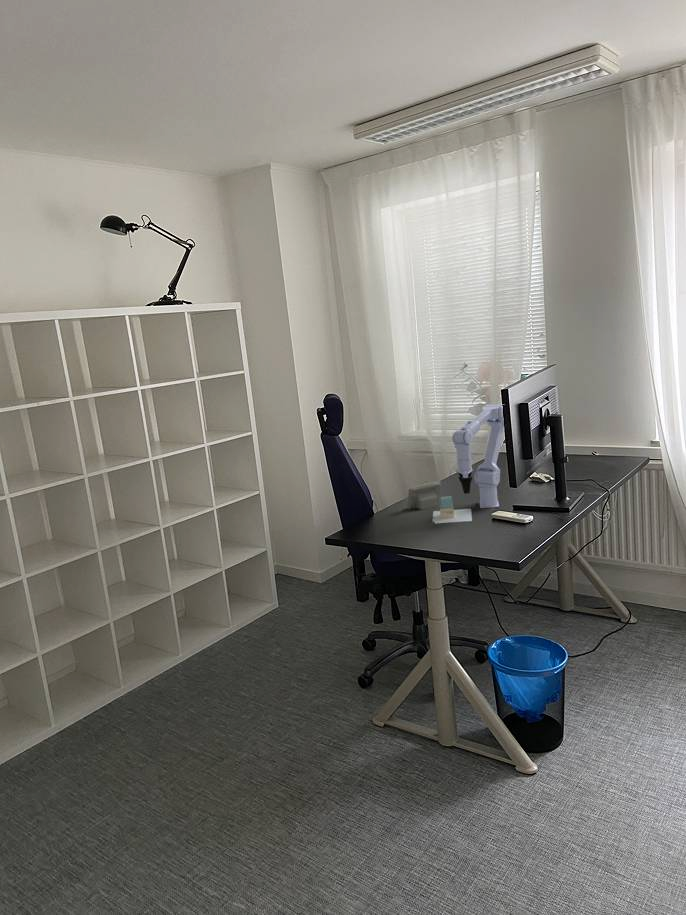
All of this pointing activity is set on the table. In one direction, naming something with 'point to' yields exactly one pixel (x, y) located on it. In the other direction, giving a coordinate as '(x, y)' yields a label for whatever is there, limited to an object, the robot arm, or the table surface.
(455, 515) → the board
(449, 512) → the base block
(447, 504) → the teal block
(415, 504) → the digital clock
